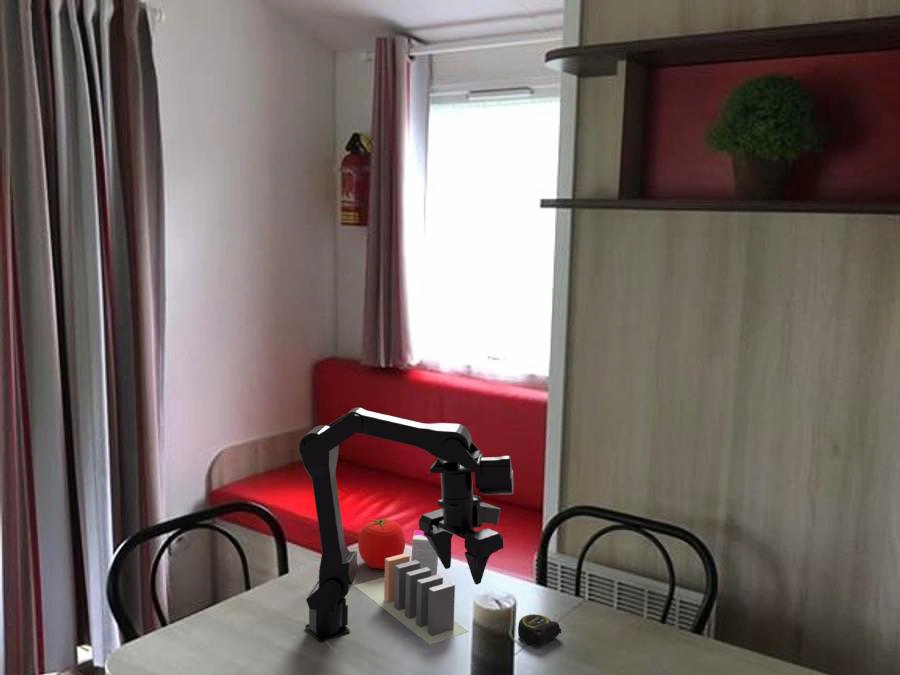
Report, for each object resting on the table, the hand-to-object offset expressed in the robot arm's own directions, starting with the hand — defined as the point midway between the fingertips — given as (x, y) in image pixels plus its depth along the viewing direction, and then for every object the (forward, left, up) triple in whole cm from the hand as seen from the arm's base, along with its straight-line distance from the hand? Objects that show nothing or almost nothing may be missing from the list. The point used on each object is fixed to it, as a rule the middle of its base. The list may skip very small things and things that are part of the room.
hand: (462, 575), depth 149 cm
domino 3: (-1, +13, -13) cm, 19 cm away
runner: (-1, +17, -13) cm, 21 cm away
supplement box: (+7, +23, -13) cm, 28 cm away
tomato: (+5, +37, -14) cm, 40 cm away
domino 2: (-1, +17, -13) cm, 22 cm away
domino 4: (-1, +9, -13) cm, 16 cm away
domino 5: (-1, +5, -13) cm, 14 cm away
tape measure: (+13, -7, -14) cm, 20 cm away
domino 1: (-1, +21, -13) cm, 25 cm away
